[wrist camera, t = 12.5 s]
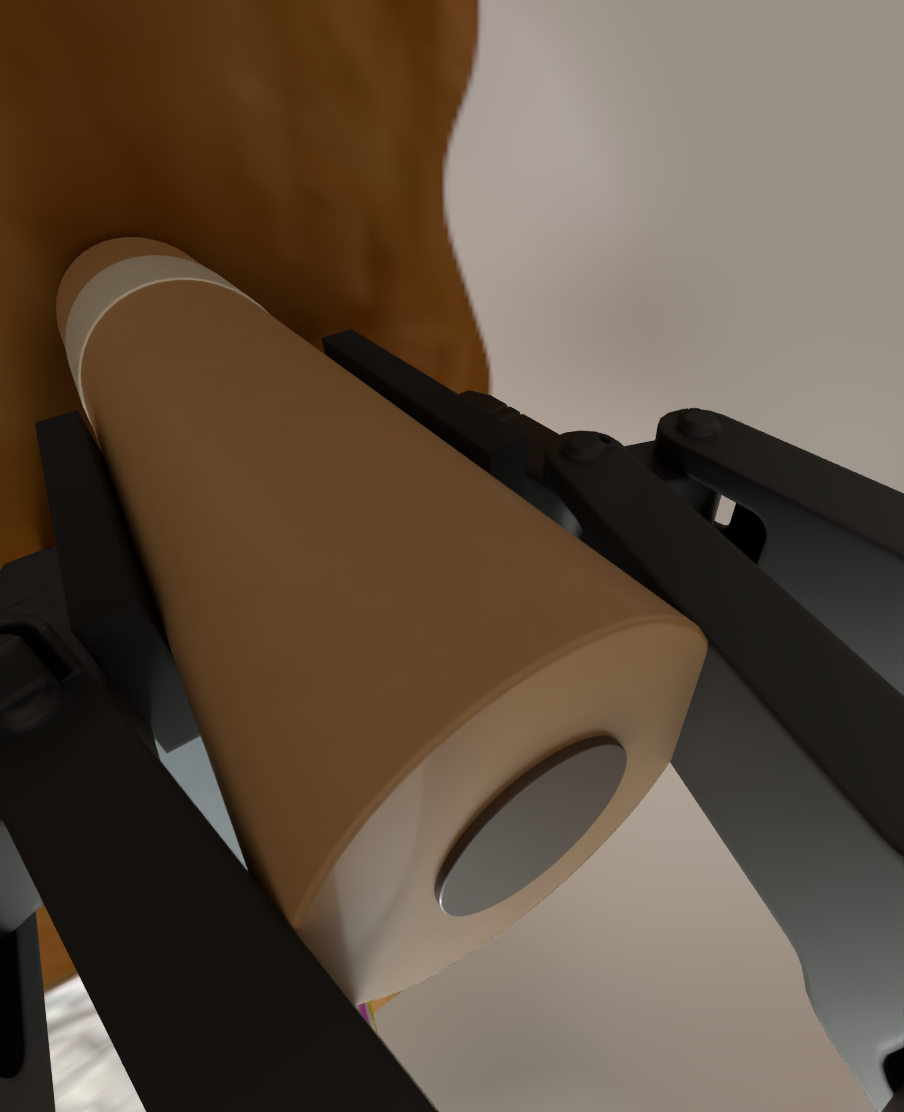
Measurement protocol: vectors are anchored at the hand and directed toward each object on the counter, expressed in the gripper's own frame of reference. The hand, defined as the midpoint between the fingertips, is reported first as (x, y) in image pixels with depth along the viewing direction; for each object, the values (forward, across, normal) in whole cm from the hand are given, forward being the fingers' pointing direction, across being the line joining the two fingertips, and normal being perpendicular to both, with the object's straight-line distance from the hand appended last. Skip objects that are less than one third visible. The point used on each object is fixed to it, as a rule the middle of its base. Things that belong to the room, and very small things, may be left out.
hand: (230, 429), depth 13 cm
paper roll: (+9, 0, 0) cm, 9 cm away
